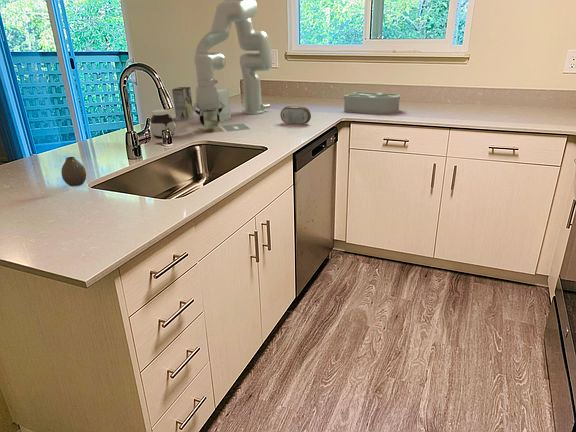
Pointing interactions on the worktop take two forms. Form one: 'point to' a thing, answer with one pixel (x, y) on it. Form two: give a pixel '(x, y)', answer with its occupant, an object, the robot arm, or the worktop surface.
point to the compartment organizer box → (371, 103)
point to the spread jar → (161, 123)
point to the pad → (210, 130)
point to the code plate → (235, 127)
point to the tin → (295, 115)
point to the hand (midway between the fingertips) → (210, 123)
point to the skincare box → (225, 100)
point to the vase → (73, 172)
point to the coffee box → (183, 103)
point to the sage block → (210, 118)
